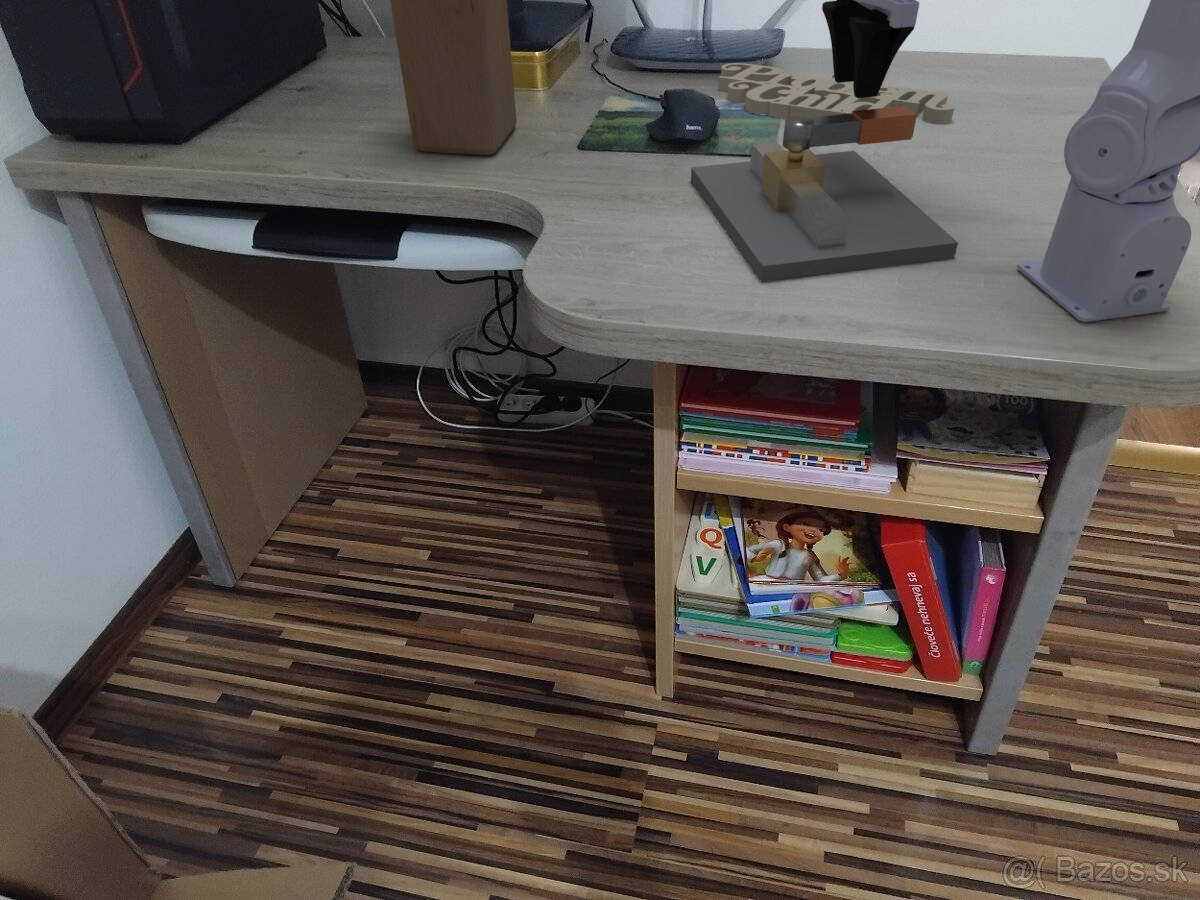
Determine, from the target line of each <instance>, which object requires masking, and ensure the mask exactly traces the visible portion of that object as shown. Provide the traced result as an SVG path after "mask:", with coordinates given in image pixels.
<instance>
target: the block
mask: <svg viewBox="0 0 1200 900" xmlns="http://www.w3.org/2000/svg"><path fill="white" fill-rule="evenodd" d="M389 1H390V8H391V15H392V19H393V20H392V21H393V26H394V32H395V39H396V40H395V41H396V45H397V50H398V57H399V64H400V70H401V76H402V83H403V88H404V95H405V101H406V108H407V116H408V118H409V119H408V120H409V127H410V132H411V133H410V134H411V139H412V145H413V147H414V149H415V150H416V151H419V152H429V153H431V152H432V153H447V154H448V153H449V154H463V155H464V154H466V155H468V154H469V155H484V156H485V155H486V156H491V155H493V154H496V153H497V151H498V150H499V149H500V148H501V146H502V145H503V144H504V142H505V141H506V140H507V138H508V137H509V136H510V135H511V133H512V132H513V131H514V129H515V128H516V124H517V110H516V99H515V98H516V97H515V86H514V85H515V84H514V73H513V64H512V63H513V62H512V49H511V37H510V25H509V15H508V3H507V1H508V0H389Z"/></svg>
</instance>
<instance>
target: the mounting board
mask: <svg viewBox="0 0 1200 900" xmlns="http://www.w3.org/2000/svg"><path fill="white" fill-rule="evenodd" d="M815 155H816V156H817V157H818V158H819V159H820V160H821V161H822V162H823V163H824V164H825V165H826V172H825V179H824V186H823V190H824V191H825V192H826V193H827V194H828V195H829V196H830V197H831V198H832V199H833V200H834V201H835V202H836V203H837V204H838V206H839V207H840V208H841V209H842V210H843V211H844V212H845V213H846V214H847V215H848V216H849V217H850V218H849V224H848V230H847V236H846V242H845V245H839V246H830V247H822V248H817V247H816V246H815V245H814V244H813V243H812V241H811V240H810V239H809V238H808V237H807V236H806V234H805V233H804V232H803V231H802V230H801V229H800V227H799V226H798V225H797V224H796V223H795V221H794V220H793V219H792V218H791V217H790V216H789V214H788V213H787V212H786V211H779V212H776V211H775V210H774V208H773V207H772V206H771V205H770V204H769V202H768V201H767V200H766V199H765V198H764V196H763V195H762V194H761V184H762V183H761V182H760V180H759V179H758V178H757V177H756V176H755V174H754V173H753V172H752V171H751V170H750V165H751V160H750V161H741V162H732V163H730V162H729V163H721V164H712V165H702V166H693V167H692V166H691V168H690V182H691V184H692V185H693V186H694V188H695V190H696V191H697V192H698V194H699V195H700V197H701V198H702V200H703V201H704V202H705V204H706V206H707V207H708V208H709V209H710V211H711V212H712V214H713V215H714V217H715V218H716V220H717V221H718V223H719V224H720V226H721V227H722V228H723V230H724V231H725V232H726V234H727V236H728V237H729V238H730V239H731V241H732V242H733V244H734V246H735V247H736V249H738V251H739V252H740V254H741V256H743V258H744V259H745V261H746V262H747V264H748V265H749V267H750V268H751V270H752V272H754V274H755V275H756V277H757V278H758V280H759V281H760V282H761V283H763V282H769V281H779V280H780V281H781V280H787V279H788V280H789V279H797V278H804V277H811V276H819V275H825V274H826V275H827V274H835V273H845V272H852V271H860V270H861V271H862V270H867V269H868V270H869V269H876V268H877V269H878V268H884V267H894V266H900V265H908V264H917V263H924V262H925V263H926V262H934V261H943V260H950V259H955V255H956V253H957V248H958V245H959V242H958V241H957V240H956V239H955V238H954V237H953V236H951V235H950V234H949V233H948V232H947V231H946V230H945V229H944V228H942V227H941V226H940V225H939V224H938V223H937V222H936V221H935V220H933V218H931V217H930V216H929V215H928V214H926V213H925V212H924V211H923V210H922V209H921V208H920V207H918V206H917V205H916V204H915V203H914V202H913V201H912V200H911V199H910V198H908V197H907V196H906V195H905V194H904V193H902V192H901V191H900V190H899V189H898V187H896V186H895V185H894V184H893V183H891V181H889V180H888V179H887V178H886V177H885V176H884V175H882V174H881V172H879V171H878V170H877V169H876V168H874V167H873V166H872V165H871V164H870V163H869V162H868V161H867V160H866V159H864V158H863V157H862V156H861V155H860V154H859V153H858V152H856V151H855V150H847V151H846V150H845V151H838V152H828V153H818V154H815Z"/></svg>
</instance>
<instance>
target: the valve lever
mask: <svg viewBox="0 0 1200 900" xmlns="http://www.w3.org/2000/svg"><path fill="white" fill-rule="evenodd" d="M917 118H918V117H917V115H916V114H915V113H913V112H912V111H911V110H909V109H908V108H906V107H905V106H899V107H888V108H878V109H868V110H857V111H852V113H851V114H841V115H831V116H820V117H810V118H807V117H790V118H787V119H784V120H785V121H784V126H783V137H782V148H783V149H784V148H785V149H787V150H788V149H789V150H794V151H803V150H807V149H811V148H818V147H826V146H836V145H846V144H847V145H848V144H855V143H856V144H857V145H858V146H860V145H862V146H863V145H871V144H881V143H888V142H889V143H891V142H900V141H901V142H902V141H910V140H912V138H913V136H914V131H915V126H916V123H917V122H916V121H917Z"/></svg>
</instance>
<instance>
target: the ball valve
mask: <svg viewBox="0 0 1200 900" xmlns="http://www.w3.org/2000/svg"><path fill="white" fill-rule="evenodd" d="M816 155H817V154H815V153H814V152H813V151H812V150H811V148H809V149H807V150H803V151H794V150H789V149H787V150H785V149H784V147H783V146H781V145H780V143H778V142H777V141H773V142H763V143H753V144H751V156H750V161H751V165H750V170H751V171H752V172H753V173H754V174H755V176H756V177H757V178H758V179H759V180H760V182H761V183H762V184H761V194H762V195H763V196H764V198H765V199H766V200H767V201H768V202H769V204H770V205H771V206H772V207H773V208H774V210H775V211H776V212H779V211H786V212H787V213H788V214H789V216H790V217H791V218H792V219H793V220H794V221H795V223H796V224H797V225H798V226H799V227H800V229H801V230H802V231H803V232H804V233H805V234H806V236H807V237H808V238H809V239H810V240H811V241H812V243H813V244H814V245H815V246H816V247H817V248H822V247H830V246H839V245H845V242H846V236H847V230H848V224H849V218H850V217H849V216H848V215H847V214H846V213H845V212H844V211H843V210H842V209H841V208H840V207H839V206H838V204H837V203H836V202H835V201H834V200H833V199H832V198H831V197H830V196H829V195H828V194H827V193H826V192H825V191H824V190H823V186H824V179H825V172H826V165H825V164H824V163H823V162H822V161H821V160H820V159H819V158H818V157H817V156H816Z"/></svg>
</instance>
